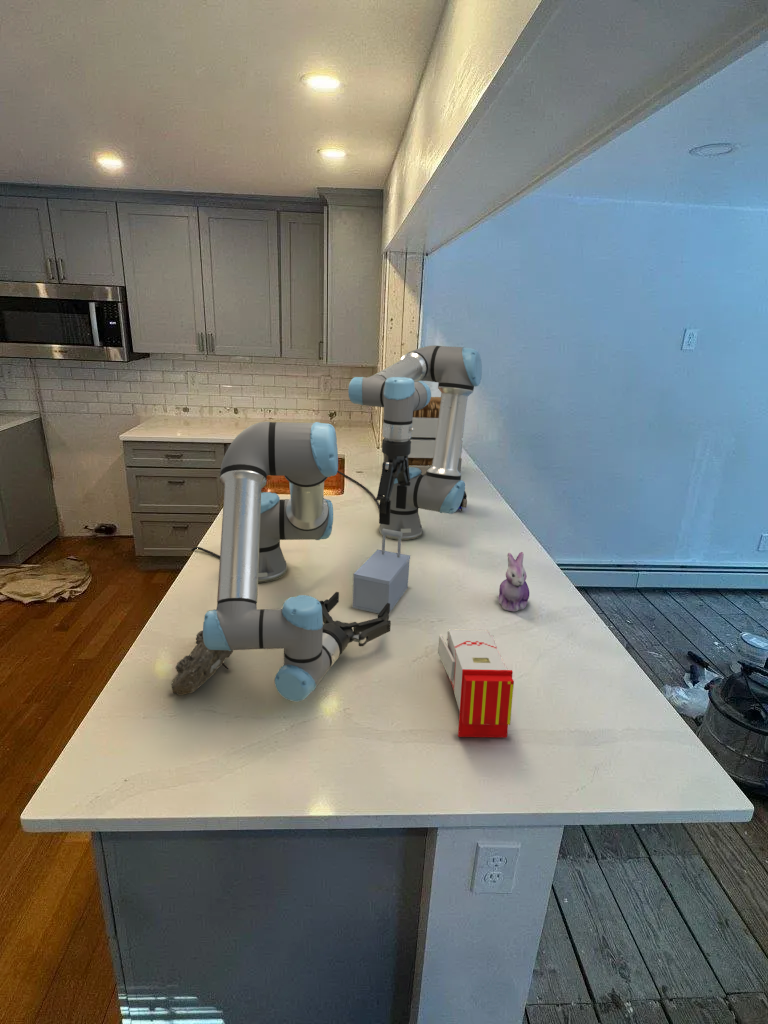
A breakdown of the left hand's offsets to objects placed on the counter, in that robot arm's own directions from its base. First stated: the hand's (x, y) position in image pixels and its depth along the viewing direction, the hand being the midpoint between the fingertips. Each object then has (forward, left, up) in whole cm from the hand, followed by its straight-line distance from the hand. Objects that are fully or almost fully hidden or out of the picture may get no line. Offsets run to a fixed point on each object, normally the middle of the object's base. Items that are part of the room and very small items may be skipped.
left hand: (362, 602), depth 140 cm
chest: (0, +15, -6) cm, 16 cm away
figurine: (+34, +26, -6) cm, 43 cm away
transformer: (-27, +140, -6) cm, 143 cm away
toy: (+31, -16, -6) cm, 35 cm away
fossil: (-23, -30, -6) cm, 38 cm away
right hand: (0, +21, +16) cm, 26 cm away
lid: (0, +15, +3) cm, 15 cm away
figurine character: (+1, +99, -6) cm, 99 cm away
